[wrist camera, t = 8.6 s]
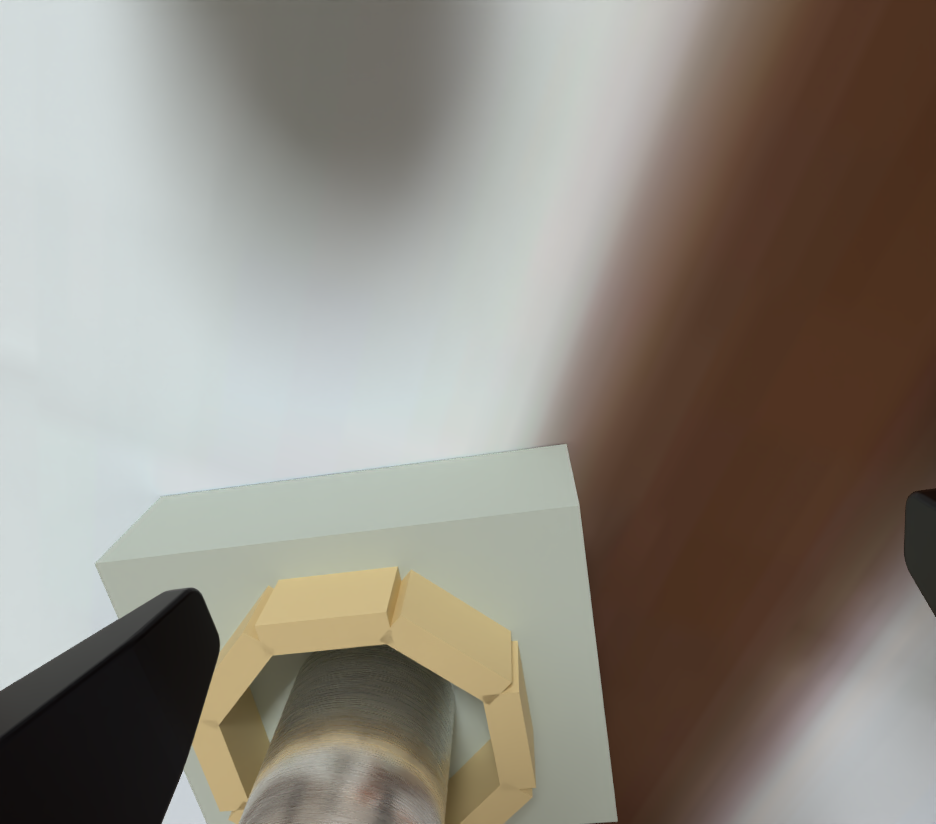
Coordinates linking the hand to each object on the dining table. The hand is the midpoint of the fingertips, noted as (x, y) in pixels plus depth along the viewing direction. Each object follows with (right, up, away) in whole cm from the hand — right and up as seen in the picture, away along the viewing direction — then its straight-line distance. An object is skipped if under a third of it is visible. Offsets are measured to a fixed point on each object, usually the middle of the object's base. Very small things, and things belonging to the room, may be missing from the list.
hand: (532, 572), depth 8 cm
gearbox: (-5, -6, +16) cm, 18 cm away
